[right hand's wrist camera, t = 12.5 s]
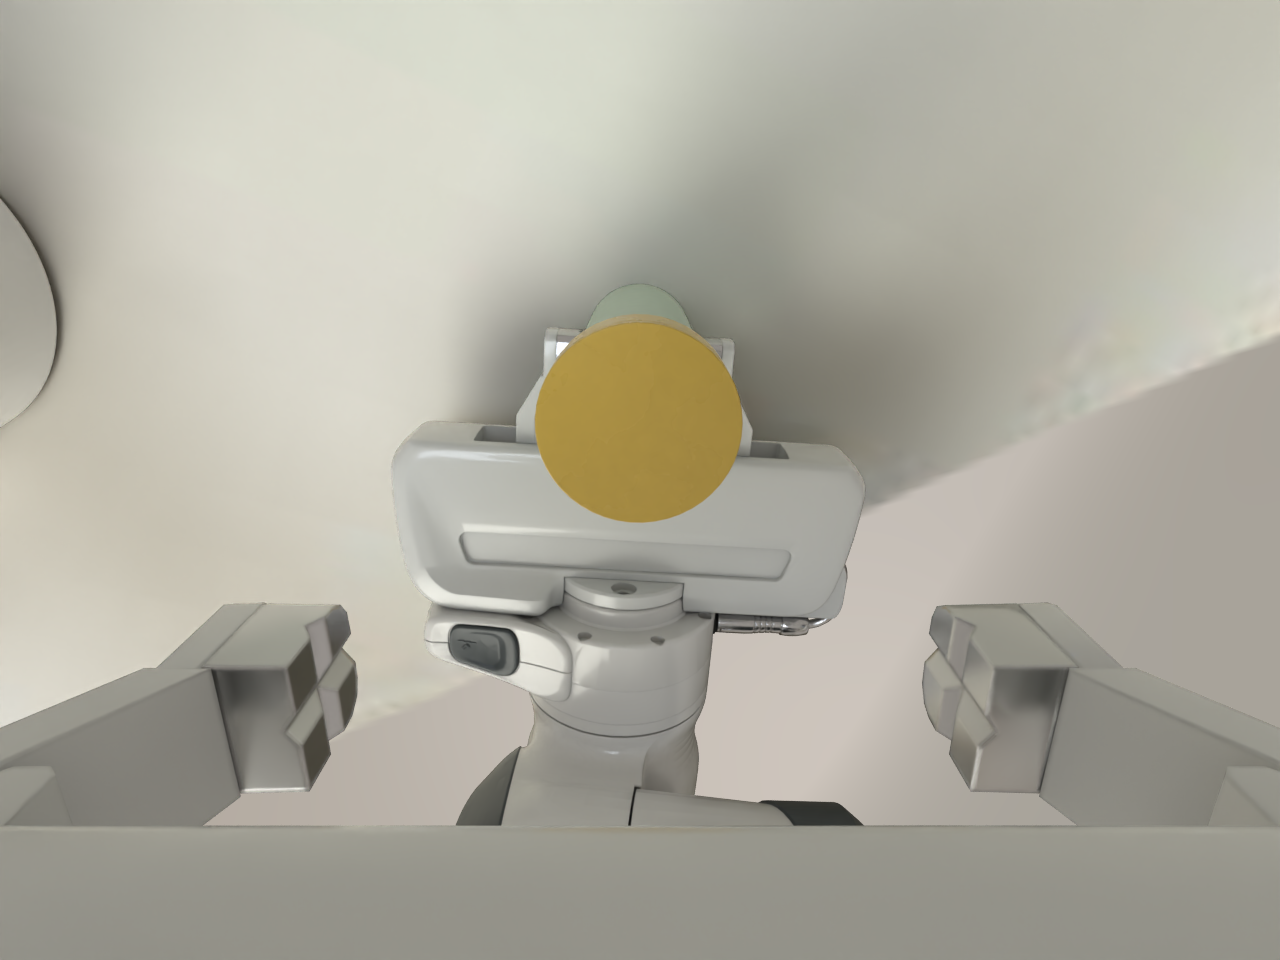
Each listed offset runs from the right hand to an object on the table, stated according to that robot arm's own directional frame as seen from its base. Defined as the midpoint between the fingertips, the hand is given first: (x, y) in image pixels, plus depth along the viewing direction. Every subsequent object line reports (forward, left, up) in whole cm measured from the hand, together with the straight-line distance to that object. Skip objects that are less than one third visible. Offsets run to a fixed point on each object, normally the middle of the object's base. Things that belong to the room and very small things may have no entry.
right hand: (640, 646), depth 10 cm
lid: (0, 0, -11) cm, 11 cm away
